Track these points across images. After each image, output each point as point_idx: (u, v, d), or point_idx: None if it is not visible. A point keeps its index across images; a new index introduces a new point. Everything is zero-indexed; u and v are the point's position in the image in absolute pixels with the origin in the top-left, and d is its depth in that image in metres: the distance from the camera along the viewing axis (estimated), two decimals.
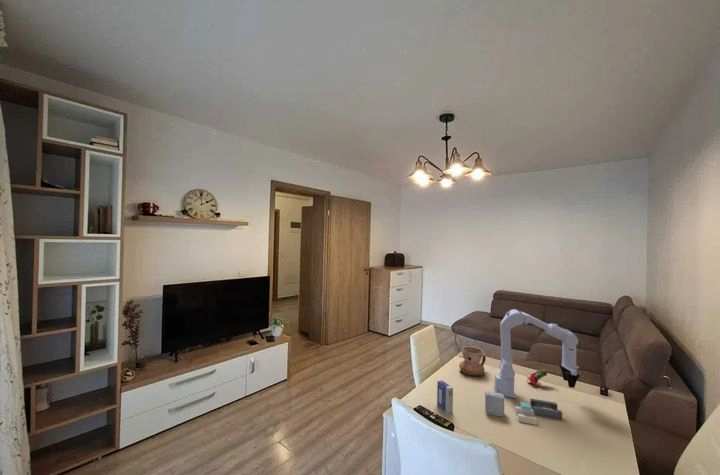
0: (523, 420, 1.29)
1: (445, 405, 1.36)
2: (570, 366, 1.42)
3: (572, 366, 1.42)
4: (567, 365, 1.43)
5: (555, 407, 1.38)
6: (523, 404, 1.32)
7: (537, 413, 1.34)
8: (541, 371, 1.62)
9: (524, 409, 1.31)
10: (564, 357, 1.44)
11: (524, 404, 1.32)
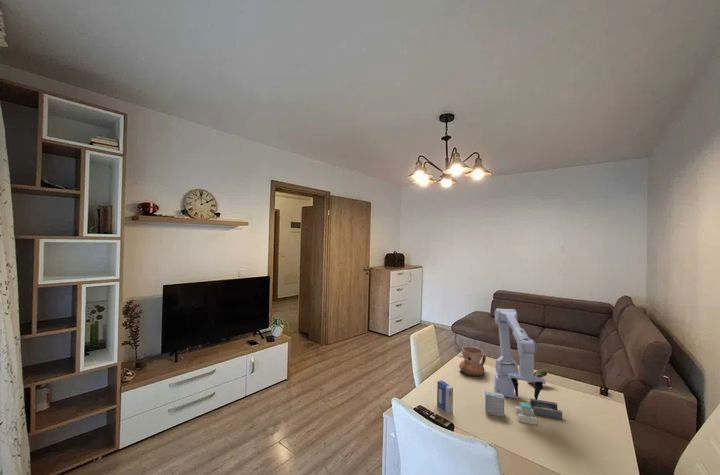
0: (523, 420, 1.29)
1: (445, 405, 1.36)
2: (519, 374, 1.34)
3: (519, 374, 1.33)
4: None
5: (555, 407, 1.38)
6: (523, 404, 1.32)
7: (537, 413, 1.34)
8: (541, 371, 1.62)
9: (524, 409, 1.31)
10: None
11: (524, 404, 1.32)
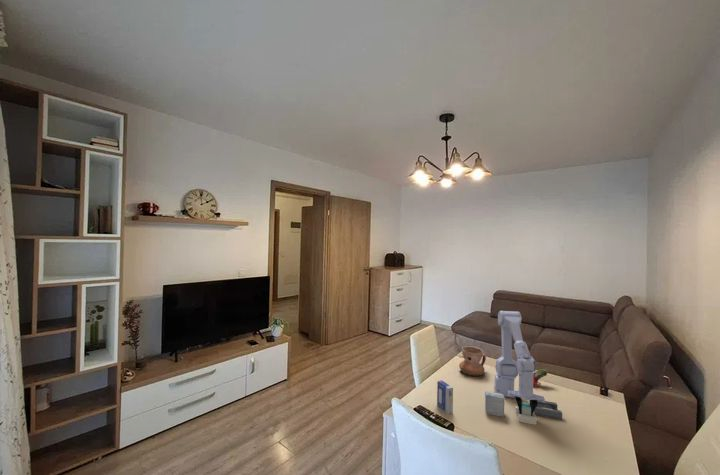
0: (523, 420, 1.29)
1: (445, 405, 1.36)
2: (518, 391, 1.33)
3: (519, 392, 1.32)
4: None
5: (555, 407, 1.38)
6: (523, 404, 1.32)
7: (537, 413, 1.34)
8: (541, 371, 1.62)
9: (524, 409, 1.31)
10: None
11: (524, 404, 1.32)
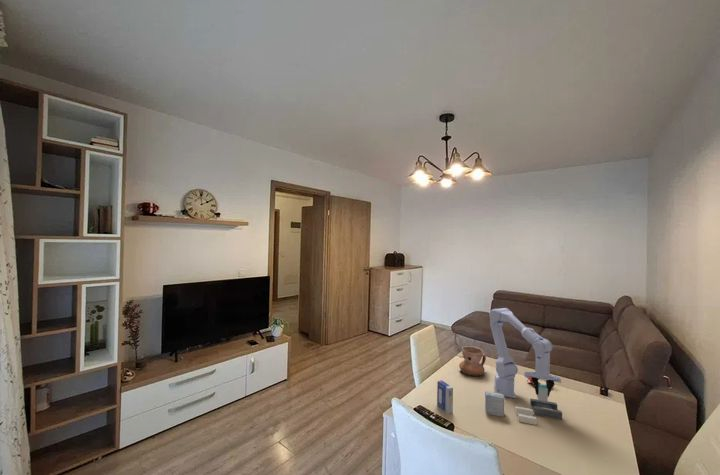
0: (523, 420, 1.29)
1: (445, 405, 1.36)
2: (535, 372, 1.38)
3: (535, 373, 1.37)
4: None
5: (555, 407, 1.38)
6: (540, 385, 1.36)
7: (537, 413, 1.34)
8: None
9: (541, 390, 1.35)
10: None
11: (540, 386, 1.36)
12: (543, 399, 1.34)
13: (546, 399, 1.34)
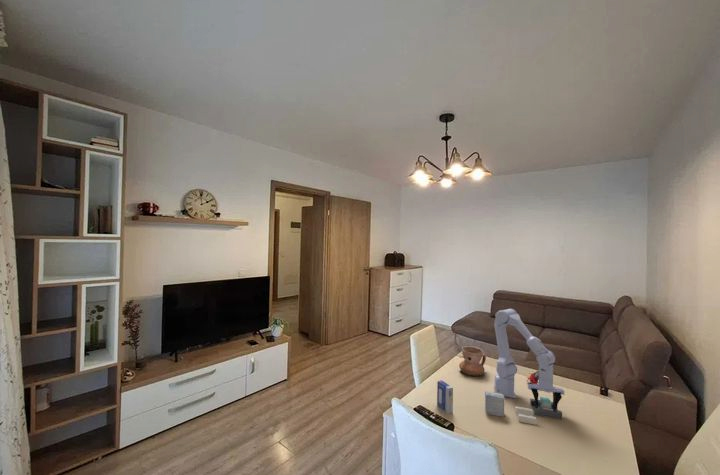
0: (523, 420, 1.29)
1: (445, 405, 1.36)
2: (538, 384, 1.39)
3: (539, 385, 1.38)
4: None
5: None
6: (543, 399, 1.37)
7: (537, 413, 1.34)
8: None
9: (544, 403, 1.36)
10: None
11: (544, 399, 1.37)
12: None
13: None
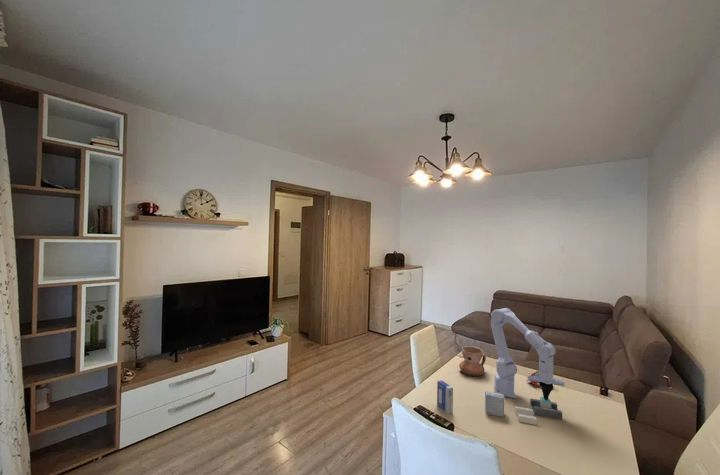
0: (523, 420, 1.29)
1: (445, 405, 1.36)
2: (538, 376, 1.39)
3: (539, 377, 1.38)
4: None
5: (555, 407, 1.38)
6: (543, 399, 1.37)
7: (537, 413, 1.34)
8: None
9: (544, 403, 1.36)
10: None
11: (544, 399, 1.37)
12: None
13: None
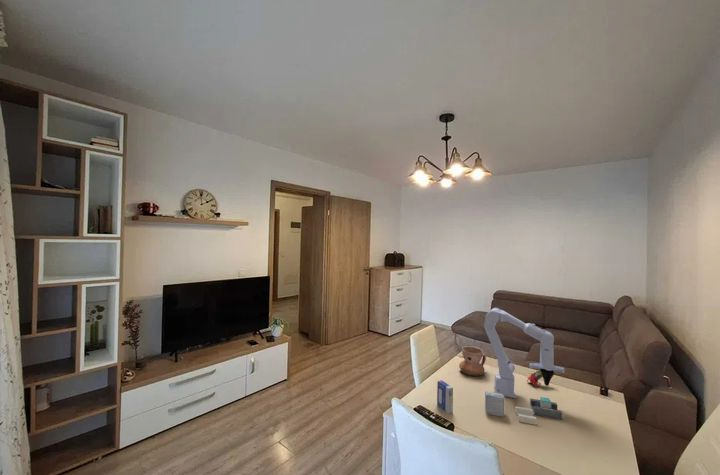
0: (523, 420, 1.29)
1: (445, 405, 1.36)
2: (539, 363, 1.45)
3: (540, 364, 1.44)
4: None
5: (555, 407, 1.38)
6: (543, 399, 1.37)
7: (537, 413, 1.34)
8: None
9: (544, 403, 1.36)
10: None
11: (544, 399, 1.37)
12: None
13: None
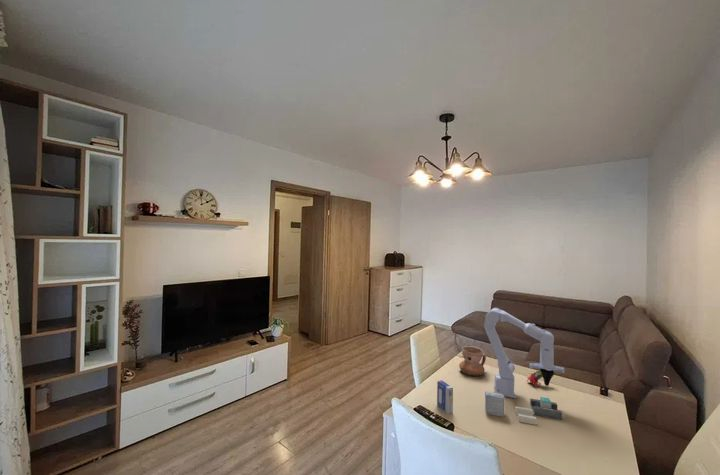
0: (523, 420, 1.29)
1: (445, 405, 1.36)
2: (539, 363, 1.45)
3: (540, 364, 1.44)
4: None
5: (555, 407, 1.38)
6: (543, 399, 1.37)
7: (537, 413, 1.34)
8: None
9: (544, 403, 1.36)
10: None
11: (544, 399, 1.37)
12: None
13: None
